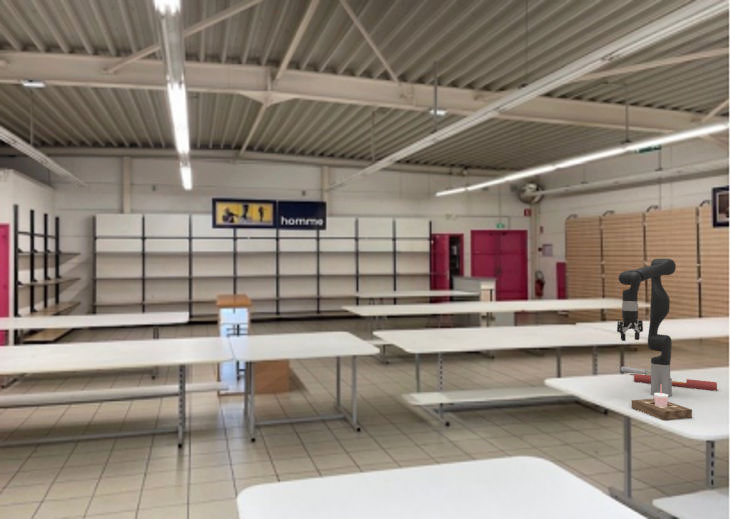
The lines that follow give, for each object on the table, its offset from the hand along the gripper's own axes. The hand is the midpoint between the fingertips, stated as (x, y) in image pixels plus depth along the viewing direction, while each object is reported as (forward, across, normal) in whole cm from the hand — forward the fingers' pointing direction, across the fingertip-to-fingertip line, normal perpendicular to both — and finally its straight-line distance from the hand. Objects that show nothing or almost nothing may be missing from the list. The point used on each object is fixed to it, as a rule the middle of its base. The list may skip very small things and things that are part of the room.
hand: (630, 340), depth 267 cm
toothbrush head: (+33, -50, -49) cm, 78 cm away
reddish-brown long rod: (+33, -51, -22) cm, 65 cm away
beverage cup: (+32, +2, +21) cm, 38 cm away
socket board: (+32, +2, +21) cm, 38 cm away
